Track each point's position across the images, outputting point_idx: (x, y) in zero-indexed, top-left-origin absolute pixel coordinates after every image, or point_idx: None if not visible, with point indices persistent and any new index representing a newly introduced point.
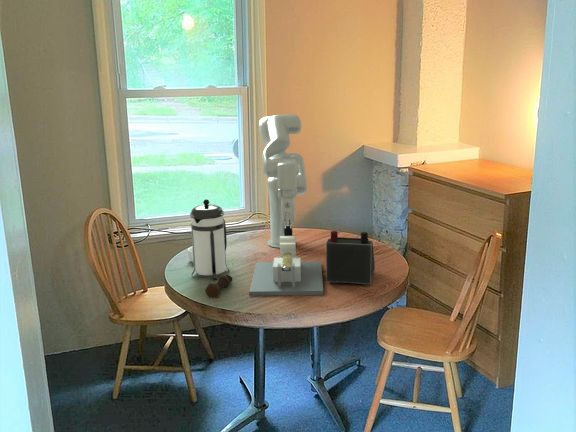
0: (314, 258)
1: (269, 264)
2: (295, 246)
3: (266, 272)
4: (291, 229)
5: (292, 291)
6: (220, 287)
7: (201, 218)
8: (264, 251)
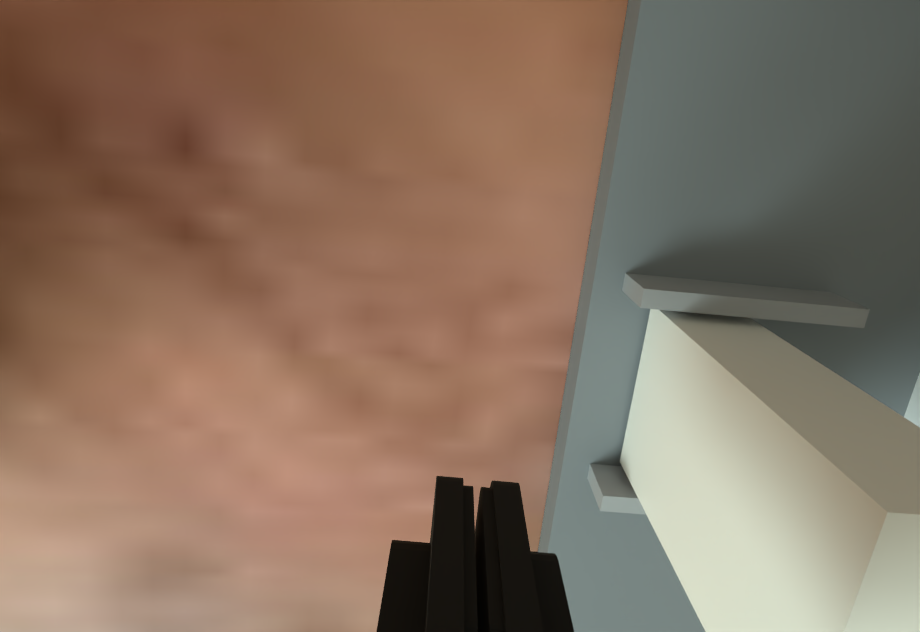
0: (357, 29)
1: (618, 562)
2: (843, 409)
3: None
4: (535, 630)
5: None
6: None
7: None
8: (88, 569)
